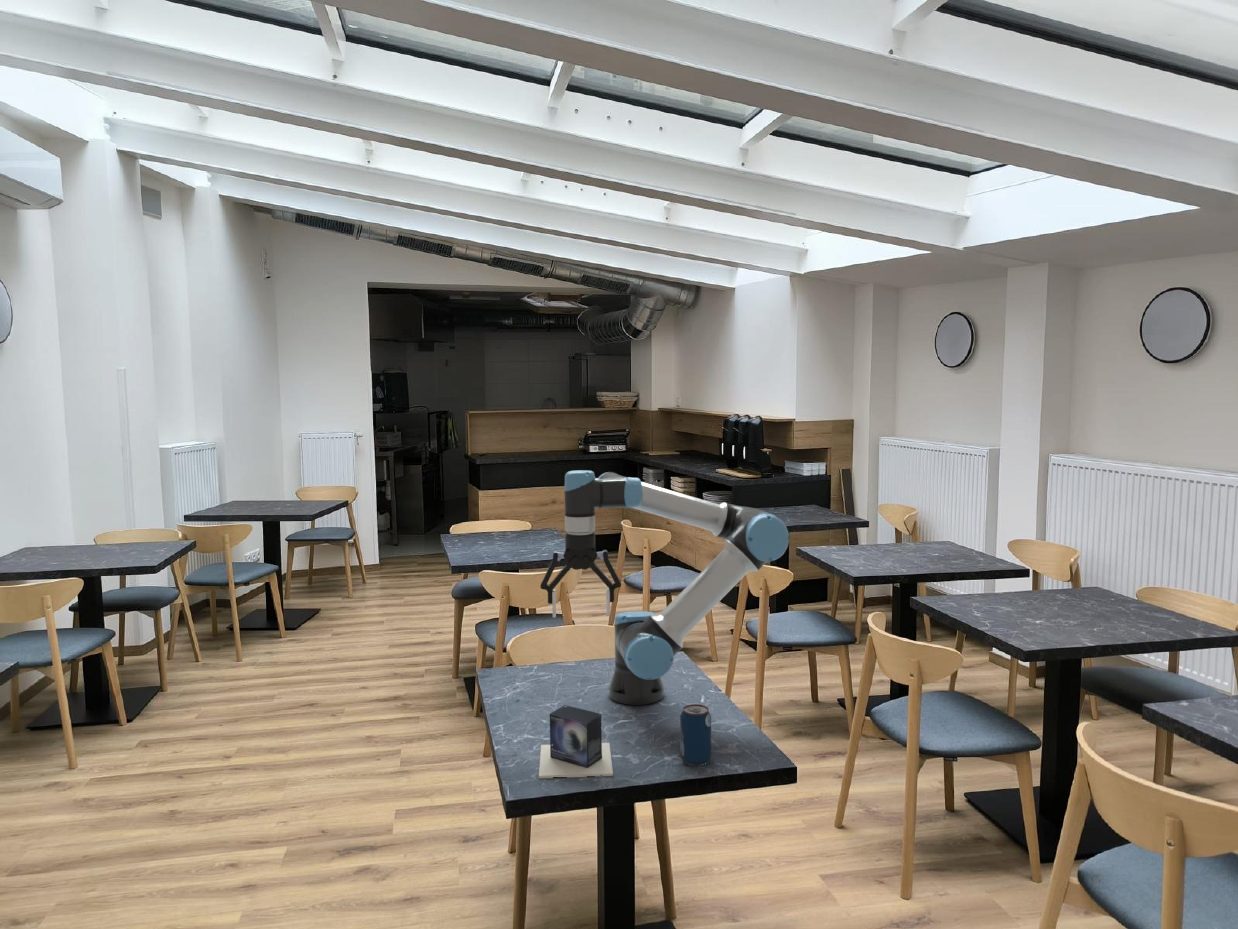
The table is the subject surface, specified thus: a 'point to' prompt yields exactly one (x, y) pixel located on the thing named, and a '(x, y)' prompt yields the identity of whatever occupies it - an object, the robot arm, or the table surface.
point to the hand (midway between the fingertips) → (581, 615)
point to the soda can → (695, 734)
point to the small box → (576, 736)
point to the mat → (566, 769)
